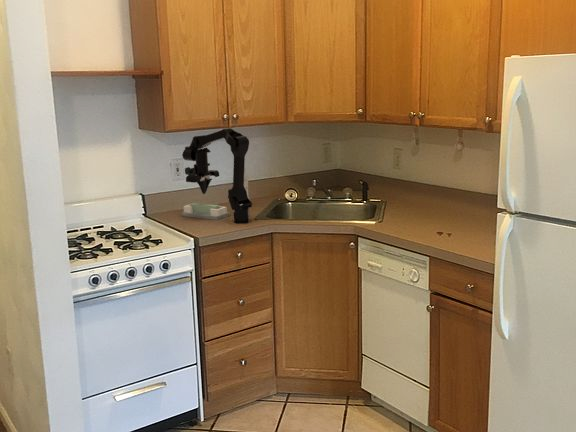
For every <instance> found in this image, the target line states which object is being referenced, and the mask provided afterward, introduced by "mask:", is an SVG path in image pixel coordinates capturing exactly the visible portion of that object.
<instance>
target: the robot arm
mask: <svg viewBox="0 0 576 432" xmlns="http://www.w3.org/2000/svg"><path fill="white" fill-rule="evenodd" d="M223 139H224V140H225V142H226V143H227V144H228V145H229V147H230V151H231V153H232V155H233V170H232V171H233V175H232V180H233V182H232V188H229V189H228V190H227V194H228V195H227V199H228V202H229V205H230V208H231V210H232V211H234V212H233V222H234V223H235V224H248V223H249V222H250V221H251V218H250V208H252V206H253V203H252V201H251V200H249V199H250V197H249V198H248V197H247V192H246V190H245V188H244V167H245V161H246V159H245V158H246V155H247V153H248V151H249V146H250V139H249V138H248V137H247V136H245V135H243V134H242V133H241V132H238V131H236V130H234V129H233V128H230V127H227V128H222V129H221V130H219V131H216V132H215V131H214V132H212V133H209V134H201V135H196V136H195V135H194V136H193V137H192V141H191V142H190V144H189V146H187V145H186V146H185V147H184V150H183V151H182V155H181V156H182V158H183V159H184V161H190V162H195V163H194V164H193V167H190V166H187V167H185V168H184V173H185V175H187V176H186V177H185V182H186V183H192V184H193V183H196V184H198V186H199V189H200V191H201V193H202V194H203V195H205V194H206V193H207V190H208V188H209V186H210V183H211V181H212V180H213V178H211V177H212V176H214V177H215V178H218V177H220V172H219V170H214V169H209V166H211V163H210V162H209V159H208V153H211V150H210V149H209V147H208V146H210V145H211V144H212V143H214V142H216V141H220V140H223ZM241 204H243V205H241Z"/></svg>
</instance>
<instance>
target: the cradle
mask: <svg viewBox="0 0 576 432" xmlns="http://www.w3.org/2000/svg"><path fill="white" fill-rule="evenodd" d="M190 204H191V203H189V204H186V205H184V206H183V212H181V213H180V214H181V217H188V218H189V217H190V218H198V219H206V220H215V221H218V220H221V219H224V218H226V217H229V216H231V215H230V214H231V212H229V211H228V207H227V206H221V205H220V209H210V213H211V214H205V213H197V212H193V206H190Z"/></svg>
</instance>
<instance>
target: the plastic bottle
mask: <svg viewBox="0 0 576 432" xmlns="http://www.w3.org/2000/svg"><path fill="white" fill-rule="evenodd" d="M244 188H245V190H246V192H247V197H248V198H249V200H250V197H249V196H250V195H249V176H248V174H247V173H246V167H245V166H244ZM250 201H251V200H250ZM241 205H243V204H241Z"/></svg>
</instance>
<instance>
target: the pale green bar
mask: <svg viewBox="0 0 576 432" xmlns="http://www.w3.org/2000/svg"><path fill="white" fill-rule="evenodd" d="M189 204H190V206H193V212H197V213H205V214H211V213H210V209H220V206H221V205H220V204H211V203H210V204H209V203H201V202H192V203H189Z"/></svg>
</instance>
